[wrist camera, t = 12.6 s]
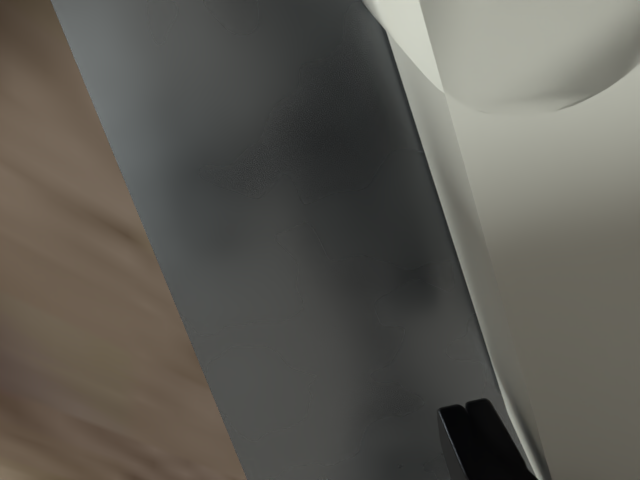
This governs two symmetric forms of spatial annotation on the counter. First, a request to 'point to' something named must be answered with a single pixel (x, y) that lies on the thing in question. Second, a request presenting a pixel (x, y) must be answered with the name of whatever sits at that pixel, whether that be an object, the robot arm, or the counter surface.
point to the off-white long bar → (540, 206)
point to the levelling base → (291, 226)
